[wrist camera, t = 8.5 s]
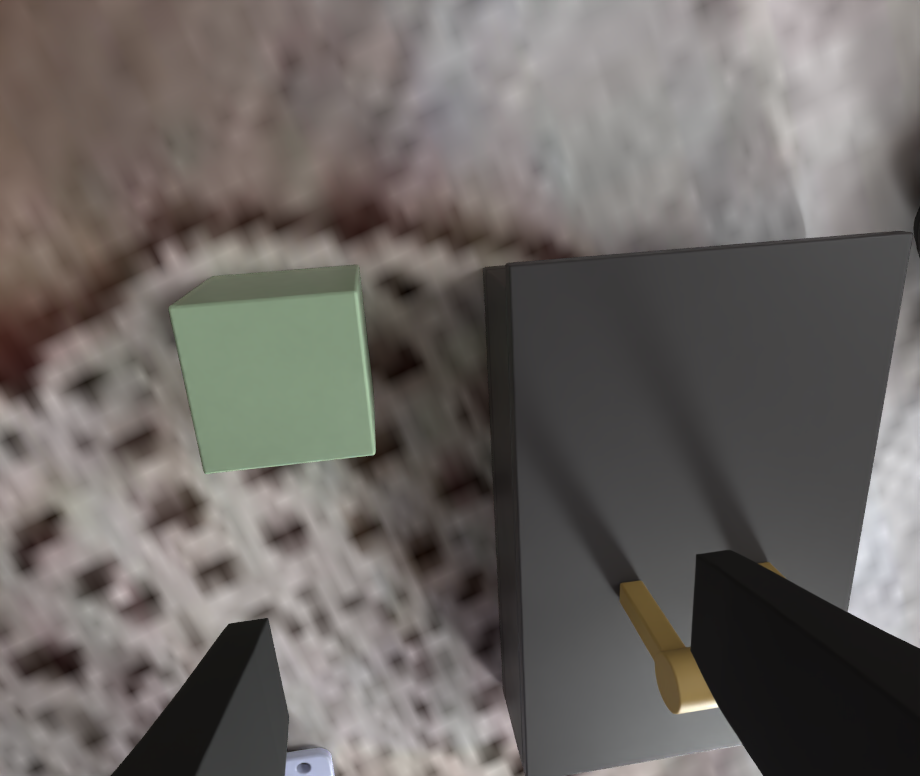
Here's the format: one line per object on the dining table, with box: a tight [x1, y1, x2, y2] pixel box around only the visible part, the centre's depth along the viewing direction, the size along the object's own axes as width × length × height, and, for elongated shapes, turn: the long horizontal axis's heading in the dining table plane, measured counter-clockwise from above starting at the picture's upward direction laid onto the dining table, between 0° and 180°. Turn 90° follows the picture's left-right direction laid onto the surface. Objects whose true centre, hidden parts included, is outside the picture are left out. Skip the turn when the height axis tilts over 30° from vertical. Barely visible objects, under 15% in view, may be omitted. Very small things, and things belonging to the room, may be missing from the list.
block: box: [168, 265, 376, 474], centre depth 17 cm, size 4×4×4 cm
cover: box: [505, 231, 913, 776], centre depth 17 cm, size 17×11×5 cm, turn 4°
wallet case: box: [483, 265, 523, 766], centre depth 21 cm, size 16×11×3 cm, turn 4°
